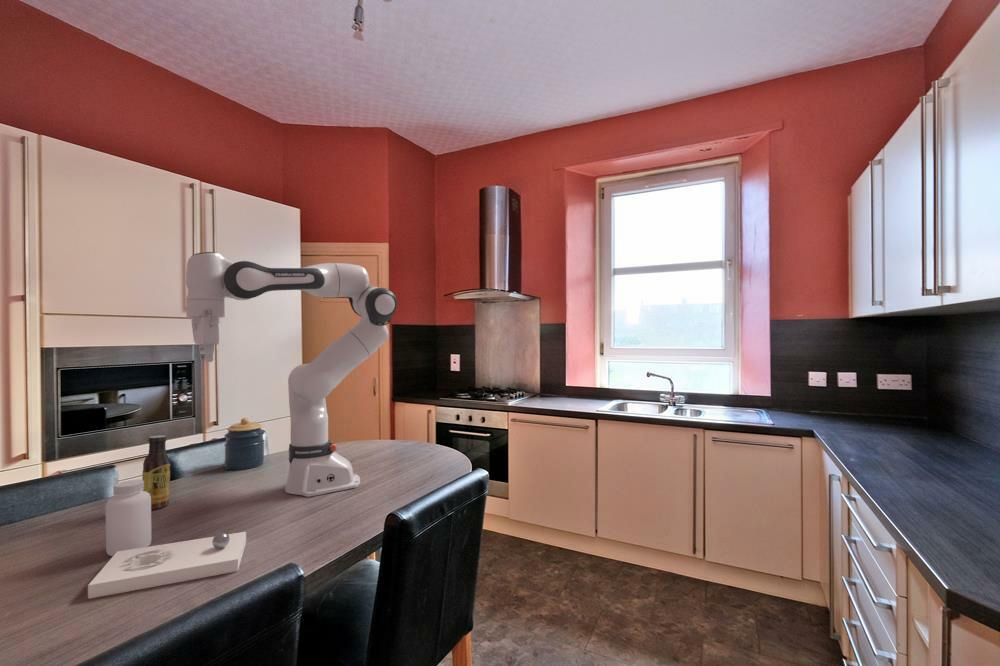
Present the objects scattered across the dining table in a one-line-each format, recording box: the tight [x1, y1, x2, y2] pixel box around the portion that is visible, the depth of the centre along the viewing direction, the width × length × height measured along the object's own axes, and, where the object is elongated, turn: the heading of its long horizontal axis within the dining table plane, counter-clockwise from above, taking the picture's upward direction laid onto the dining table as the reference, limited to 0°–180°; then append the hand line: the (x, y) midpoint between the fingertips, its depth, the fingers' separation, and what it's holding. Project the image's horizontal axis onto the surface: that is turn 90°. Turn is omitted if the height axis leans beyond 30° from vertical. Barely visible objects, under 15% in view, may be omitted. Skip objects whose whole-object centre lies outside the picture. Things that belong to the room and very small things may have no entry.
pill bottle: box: [105, 479, 152, 557], centre depth 102 cm, size 8×8×15 cm
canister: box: [223, 417, 265, 471], centre depth 167 cm, size 13×13×18 cm
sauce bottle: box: [141, 434, 171, 511], centre depth 127 cm, size 7×6×20 cm
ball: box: [212, 532, 230, 549], centre depth 97 cm, size 3×3×3 cm
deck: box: [87, 531, 247, 600], centre depth 94 cm, size 24×14×2 cm, turn 114°
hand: (206, 361), depth 123 cm, fingers open, 8 cm apart
